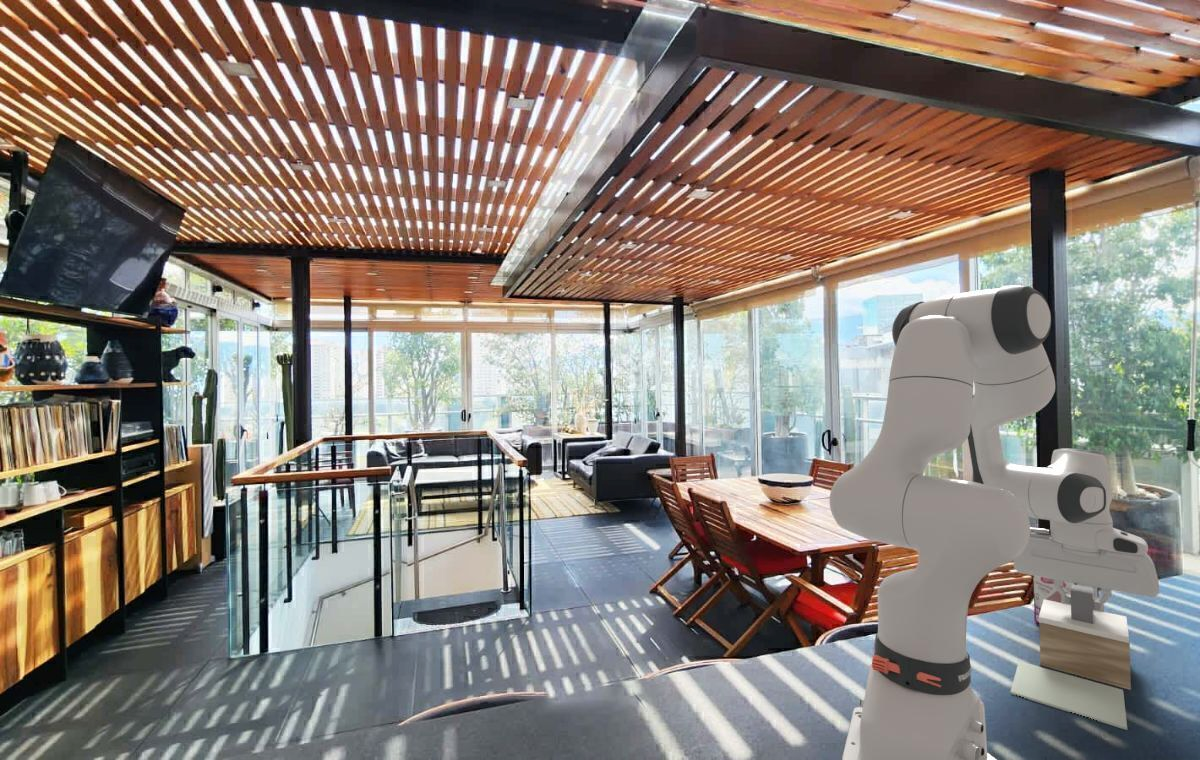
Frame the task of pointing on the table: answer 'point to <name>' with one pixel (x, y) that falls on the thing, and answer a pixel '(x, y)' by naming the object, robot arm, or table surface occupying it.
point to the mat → (1070, 694)
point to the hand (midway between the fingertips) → (1082, 607)
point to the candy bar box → (1051, 592)
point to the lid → (1084, 616)
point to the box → (1085, 655)
